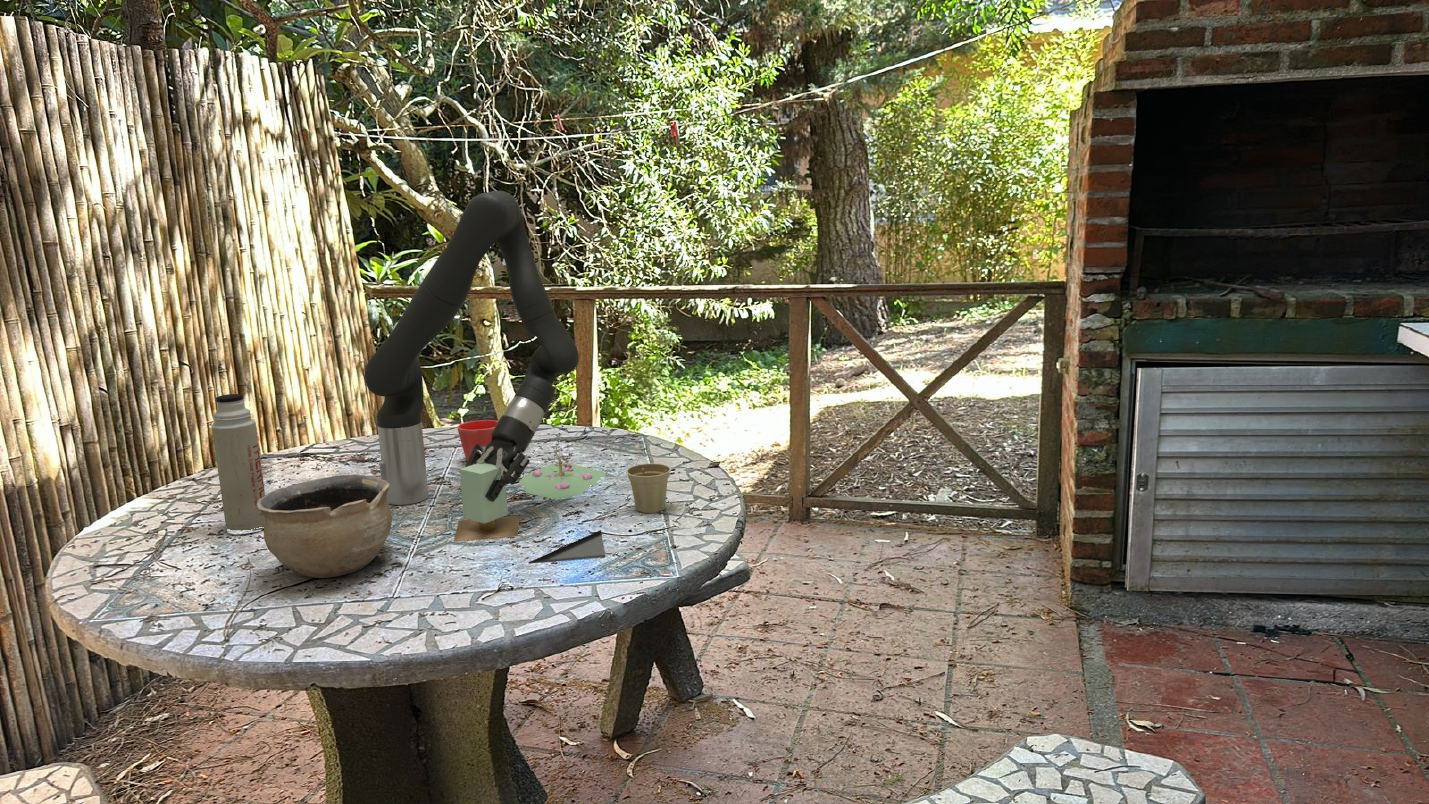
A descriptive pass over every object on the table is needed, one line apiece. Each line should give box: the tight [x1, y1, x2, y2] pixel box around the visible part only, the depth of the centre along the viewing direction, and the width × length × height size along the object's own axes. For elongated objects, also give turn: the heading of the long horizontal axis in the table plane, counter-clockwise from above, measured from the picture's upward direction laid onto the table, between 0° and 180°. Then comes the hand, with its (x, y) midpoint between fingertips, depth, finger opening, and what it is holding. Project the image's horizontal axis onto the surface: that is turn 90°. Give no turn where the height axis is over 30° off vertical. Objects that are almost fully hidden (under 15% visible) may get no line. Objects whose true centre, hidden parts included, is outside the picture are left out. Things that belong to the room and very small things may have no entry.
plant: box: [518, 443, 607, 501], centre depth 225 cm, size 25×21×9 cm
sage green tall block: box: [459, 462, 509, 524], centre depth 192 cm, size 6×6×10 cm
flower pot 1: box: [457, 419, 499, 465], centre depth 244 cm, size 11×11×10 cm
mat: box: [527, 529, 606, 564], centre depth 187 cm, size 14×14×1 cm
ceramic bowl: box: [257, 473, 393, 579], centre depth 177 cm, size 22×22×15 cm
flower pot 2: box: [625, 462, 672, 514], centre depth 206 cm, size 9×9×9 cm
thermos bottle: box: [211, 393, 266, 530], centre depth 198 cm, size 8×8×28 cm
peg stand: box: [453, 515, 520, 542], centre depth 193 cm, size 12×12×8 cm
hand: (477, 496), depth 191 cm, fingers closed on sage green tall block, 6 cm apart
